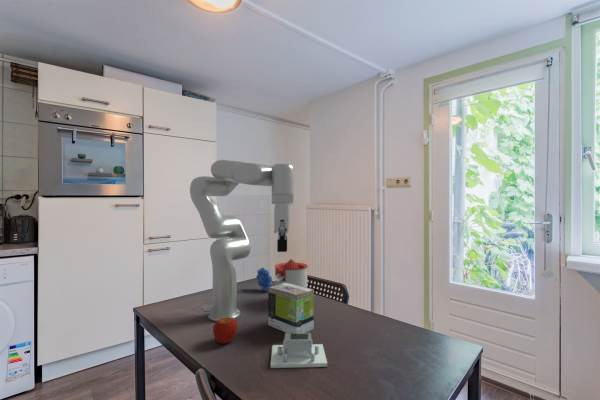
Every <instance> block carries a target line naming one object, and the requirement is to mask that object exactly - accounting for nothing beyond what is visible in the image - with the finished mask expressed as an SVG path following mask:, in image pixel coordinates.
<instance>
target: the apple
mask: <svg viewBox="0 0 600 400" xmlns="http://www.w3.org/2000/svg"><path fill="white" fill-rule="evenodd" d="M238 325H239V324H238V323H237V320H236V319H233V318H229V317H225V318H221V319H219V320H218V321H215V323H214V324H213V328H212V332H213V336H214V338H215V339H214V340H215V341H216V343H219V344H223V345H224V344H228V343H230V342H232V340H234V338H235V337H236V334H237V332H238V329H239V326H238Z"/></svg>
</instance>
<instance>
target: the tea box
mask: <svg viewBox="0 0 600 400" xmlns="http://www.w3.org/2000/svg"><path fill="white" fill-rule="evenodd" d="M267 292H268V297H267V298H268V301H267V303H268V305H267V306H268V307H267V308H268V309H267V310H268V312H267V313H268V315H267V317H268V318H267V319H268V320H267V321H268V326H270V327H272V328H274V329H277V330H279V331H282V332H284V333H309V332H310V331H312V330H314V328H315V327H314V325H315V322H314V321H315V305H314V304H315V297H314V295H315V291H314V289H313V288H309V287H307V288H306V287H302V286H298V285H294V284H290V283H283V284H279V285H275V284H274V285H272V286H271V287H268V291H267Z"/></svg>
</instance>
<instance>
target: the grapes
mask: <svg viewBox="0 0 600 400" xmlns="http://www.w3.org/2000/svg"><path fill="white" fill-rule="evenodd" d="M256 280H257V284H258V286H259V287H261V288H260V289H261V290H262V291H263V292H264V291H267V292H268V287H271V286H273V282H272V280H273V277H272V276H271V275H270V271H269V270H268V269H265V267H261V268H259V269H258V270H257V275H256Z"/></svg>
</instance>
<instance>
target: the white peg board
mask: <svg viewBox="0 0 600 400" xmlns="http://www.w3.org/2000/svg"><path fill="white" fill-rule="evenodd" d="M270 356H271V358H270V369H283V368H285V369H286V368H289V369H290V368H322V367H323V368H325V367H326V368H327V367H328V360H327V356H326V353H325V348H324V345H323V343H318V344H316V343H314V344H313V343H312V353H311V358H287V354H286V353H284V339H283V341H282V344H272V347H271V355H270Z"/></svg>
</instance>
